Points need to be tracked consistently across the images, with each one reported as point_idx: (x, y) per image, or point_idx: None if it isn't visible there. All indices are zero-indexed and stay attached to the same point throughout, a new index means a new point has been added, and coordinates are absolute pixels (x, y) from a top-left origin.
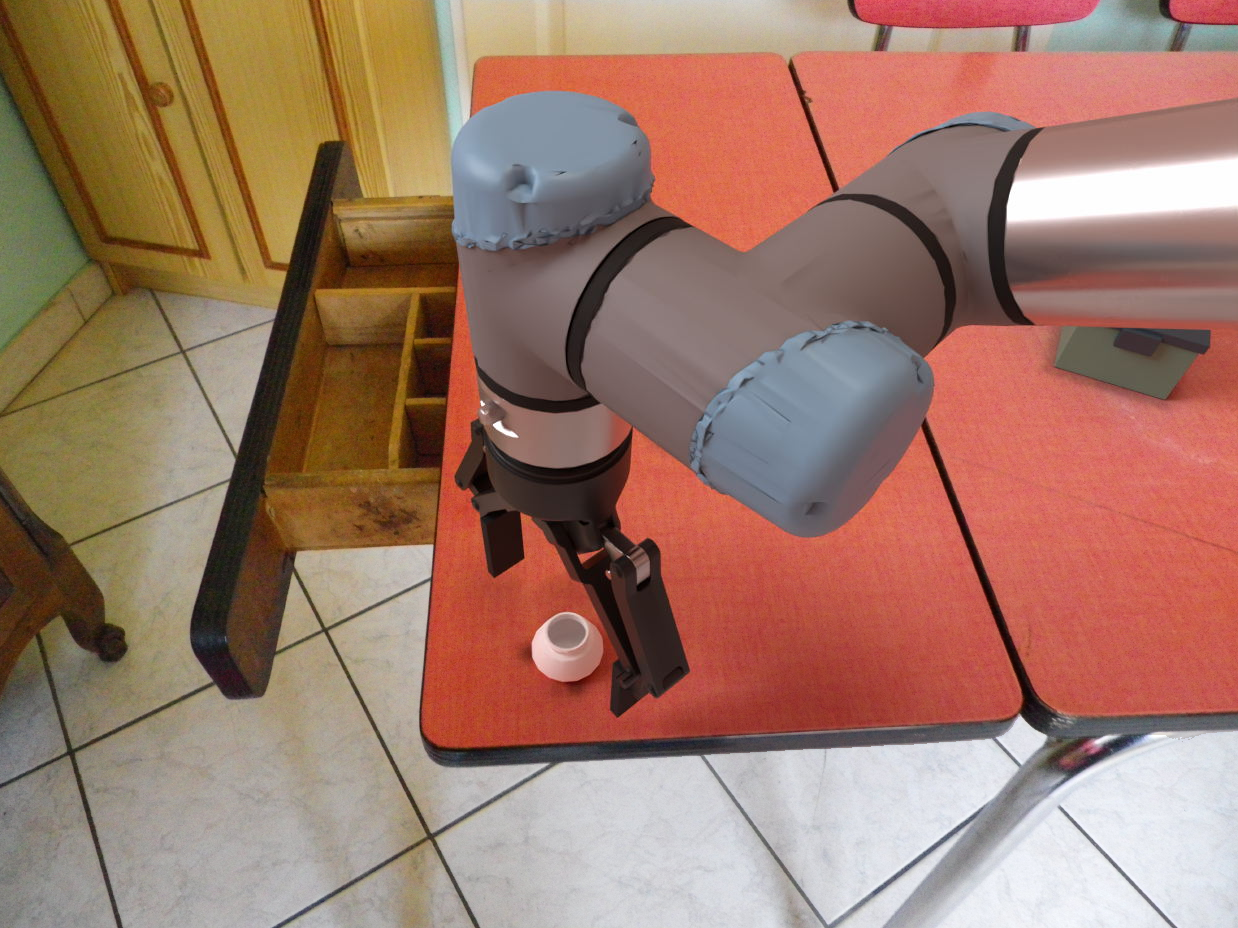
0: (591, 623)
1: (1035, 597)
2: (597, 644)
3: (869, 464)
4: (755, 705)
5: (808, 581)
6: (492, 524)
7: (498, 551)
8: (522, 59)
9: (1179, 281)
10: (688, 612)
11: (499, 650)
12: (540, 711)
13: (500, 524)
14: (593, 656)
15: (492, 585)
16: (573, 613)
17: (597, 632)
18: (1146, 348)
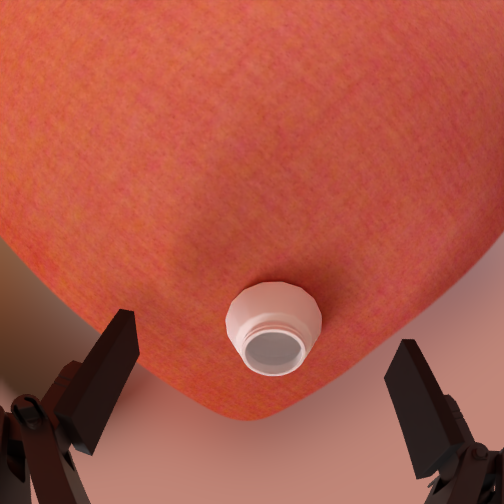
0: (279, 296)
1: None
2: (310, 316)
3: None
4: (487, 220)
5: (450, 19)
6: (91, 443)
7: (118, 383)
8: None
9: None
10: (367, 161)
11: (213, 358)
12: (300, 374)
13: (92, 426)
14: (316, 329)
15: (136, 311)
16: (260, 332)
17: (295, 300)
18: None
